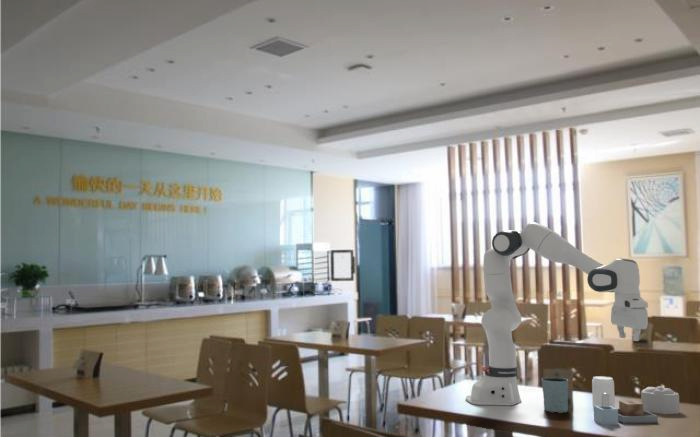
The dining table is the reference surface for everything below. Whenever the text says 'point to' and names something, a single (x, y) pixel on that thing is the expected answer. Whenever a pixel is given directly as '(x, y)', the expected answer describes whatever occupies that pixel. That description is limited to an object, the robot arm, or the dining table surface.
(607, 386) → the white tall block
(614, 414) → the blue block
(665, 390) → the lumpy-topped squat cylinder
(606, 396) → the pin gauge
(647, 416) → the tray
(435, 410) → the dining table surface
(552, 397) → the teal bin
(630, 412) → the walnut block
